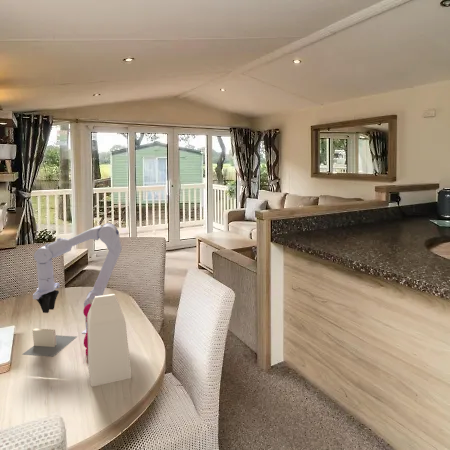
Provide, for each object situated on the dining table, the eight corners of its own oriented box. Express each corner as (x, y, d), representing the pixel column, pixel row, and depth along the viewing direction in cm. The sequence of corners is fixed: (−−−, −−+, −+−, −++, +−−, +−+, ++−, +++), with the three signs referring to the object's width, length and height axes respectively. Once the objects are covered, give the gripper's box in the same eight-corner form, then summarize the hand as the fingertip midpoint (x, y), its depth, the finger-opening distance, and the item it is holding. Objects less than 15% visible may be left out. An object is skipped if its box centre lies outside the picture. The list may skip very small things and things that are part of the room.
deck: (56, 344, 143) (55, 329, 142) (53, 346, 142) (52, 331, 141) (36, 343, 144) (35, 328, 143) (33, 345, 143) (32, 330, 142)
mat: (77, 337, 150) (77, 336, 150) (53, 357, 134) (53, 356, 134) (48, 335, 152) (48, 334, 152) (22, 355, 136) (21, 354, 136)
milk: (91, 386, 116) (85, 304, 113) (88, 368, 127) (83, 292, 123) (131, 377, 121) (127, 298, 117) (125, 361, 132) (121, 287, 128)
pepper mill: (83, 350, 139) (80, 297, 136) (104, 346, 142) (101, 294, 139) (85, 359, 133) (81, 304, 130) (106, 355, 136) (103, 301, 132)
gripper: (47, 272, 157) (50, 303, 159) (24, 282, 143) (27, 317, 145) (63, 272, 156) (65, 304, 158) (41, 283, 142) (44, 318, 144)
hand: (48, 310), depth 151 cm, fingers open, 3 cm apart
